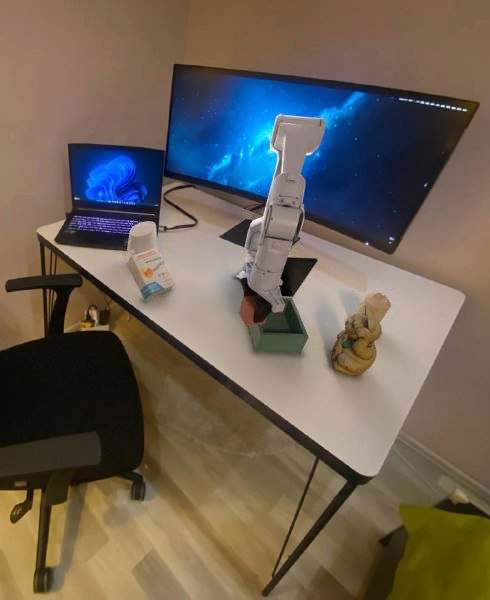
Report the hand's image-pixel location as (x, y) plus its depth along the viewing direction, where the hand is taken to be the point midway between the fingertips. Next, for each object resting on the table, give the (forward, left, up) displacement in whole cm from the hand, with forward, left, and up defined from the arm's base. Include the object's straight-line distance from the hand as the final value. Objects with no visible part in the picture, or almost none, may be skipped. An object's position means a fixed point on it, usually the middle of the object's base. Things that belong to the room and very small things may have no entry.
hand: (253, 314), depth 77 cm
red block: (0, 0, -1) cm, 1 cm away
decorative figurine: (-11, +20, -9) cm, 25 cm away
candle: (-26, +18, -9) cm, 33 cm away
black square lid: (-11, 0, +4) cm, 11 cm away
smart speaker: (-4, -39, -9) cm, 40 cm away
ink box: (+3, -25, -7) cm, 26 cm away
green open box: (-7, +3, -9) cm, 12 cm away
